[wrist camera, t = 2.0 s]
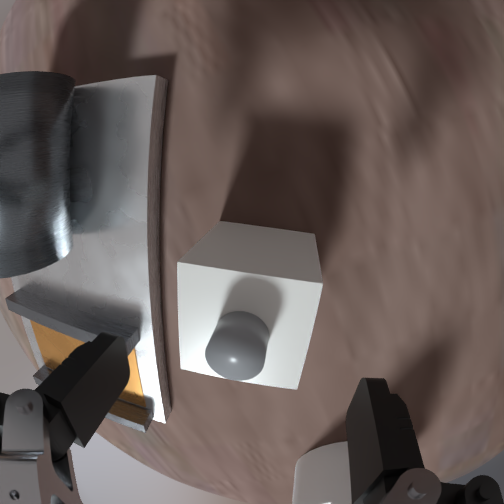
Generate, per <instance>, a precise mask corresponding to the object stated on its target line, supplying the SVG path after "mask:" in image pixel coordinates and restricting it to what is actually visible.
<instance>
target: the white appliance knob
mask: <svg viewBox="0 0 504 504" xmlns="http://www.w3.org/2000/svg"><path fill="white" fill-rule="evenodd" d="M292 504H352V501H351V482H350V467H349V454H348V443H347V441H345V442H338V443H333V444H329V445H325V446H321V447H319V448H316V449H313V450H311V451H309V452H307V453H306V454H304V455H303V456H301V458H300V459H299V460H298V461H297V463H296V466H295V477H294V488H293V499H292Z"/></svg>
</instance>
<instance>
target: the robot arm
mask: <svg viewBox="0 0 504 504" xmlns="http://www.w3.org/2000/svg"><path fill="white" fill-rule="evenodd" d="M129 378H130V366H129V361H128V356H127V350H126V344H125V340H124V338H123V337H121V336H118V335H114V334H111V333H107V332H101V333H100V334H99V335H98V336H97V337H96V338H95V339H94V340H93V341H92V342H90V341H88V342H86V343H84V344H82V345H80V346H78V347H76V348H75V349H74V350H73V351H72V352H71V353H70V354H69V355H68V358H67V357H66V358H65V359H64V361H63V362H62V363H61V365H59V366H58V367H57V368H56V369H55V370H54V371H53V372H52V373H51V374H50V375H49V376H48V377H47V378H46V379H45V380H44V381H43V382H42V383H41V384H40V385H39V386H38V387H37V388H36V389H35V390H31V389H20V390H17V391H15V392H14V393H12V394H11V395H8V394H4V393H0V504H83V503H82V501H81V499H80V496H79V493H78V489H77V484H76V479H75V473H74V468H73V462H72V455H71V450H70V446H71V445H72V443H73V442H74V443H76V444H78V445H80V446H81V447H84V448H85V446H86V445H87V443H88V442H89V440H90V439H91V437H92V436H93V434H94V433H95V431H96V430H97V428H98V427H99V425H100V424H101V422H102V421H103V419H104V418H105V416H106V415H107V413H108V412H109V410H110V409H111V408H112V406H113V405H114V403H115V402H116V400H117V399H118V397H119V396H120V394H121V393H122V391H123V390H124V389H125V387H126V386H127V384H128V381H129ZM346 432H347V443H348V454H349V467H350V482H351V501H352V504H504V503H503V499H502V495H501V492H500V488H499V485H498V483H497V482H496V481H495V480H494V479H493V478H491V477H489V476H485V475H480V476H477V477H475V478H473V479H472V480H470V481H469V482H468V483H467V484H466V485H460V484H450V483H443V482H440V480H439V479H438V477H437V476H436V475H435V474H434V473H433V472H431V471H430V470H427V469H425V468H424V465H423V461H422V457H421V453H420V450H419V446H418V442H417V439H416V435H415V432H414V429H413V425H412V422H411V419H410V416H409V412H408V409H407V406H406V404H405V403H404V402H403V400H402V399H401V398H400V397H399V396H398V394H390V392H389V388H388V385H387V382H386V380H385V379H384V378H362V379H361V380H360V382H359V385H358V387H357V389H356V392H355V394H354V396H353V399H352V401H351V403H350V406H349V408H348V411H347V415H346Z"/></svg>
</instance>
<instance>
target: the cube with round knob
mask: <svg viewBox="0 0 504 504" xmlns="http://www.w3.org/2000/svg"><path fill="white" fill-rule="evenodd" d="M177 280H178V324H179V347H180V364H181V369H185V370H189V371H193V372H198V373H202V374H207V375H211V376H216V377H221V378H226V379H230V380H236V381H242V382H248V383H254V384H260V385H267V386H274V387H281V388H289V389H297V387H298V384H299V380H300V377H301V373H302V369H303V366H304V362H305V358H306V354H307V350H308V346H309V342H310V338H311V334H312V330H313V326H314V322H315V318H316V313H317V309H318V305H319V300H320V296H321V291H322V286H323V280H322V274H321V268H320V262H319V256H318V250H317V244H316V238H315V234H313V233H306V232H299V231H292V230H285V229H277V228H270V227H263V226H255V225H248V224H240V223H232V222H224V221H219V222H218V223H217V224H216V225H215V226H214V227H213V228H212V229H211V230H210V231H209V232H208V233H207V234H205V235H204V236H203V237H202V238H201V239H200V240H199V241H198V242H197V243H196V244H195V245H194V246H193V247H192V248H191V249H190V250H189V251H188V252H187V253H186V254H185V255H184V256H183V257H182V258H181V259H180V260H179V261H178V262H177Z"/></svg>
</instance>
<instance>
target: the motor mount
mask: <svg viewBox="0 0 504 504" xmlns="http://www.w3.org/2000/svg"><path fill="white" fill-rule="evenodd" d="M167 87H168V80H167V79H164V78H162V77H160V76H158V75H149V76H139V77H130V78H123V79H115V80H109V81H103V82H97V83H91V84H86V85H81V86H76V87H75V79H73V78H72V77H70V76H67V75H64V74H59V73H53V72H40V71H28V72H14V73H6V74H0V278H8V277H11V279H12V283H13V288H14V293H13V294H11V295H10V296H8V297H7V298H5V299H6V303H7V306H8V309H9V310H11V311H13V312H15V313H17V314H19V315H21V317H22V321H23V324H24V327H25V330H26V333H27V336H28V339H29V342H30V345H31V347H32V350H33V353H34V356H35V358H36V361H37V363H38V366H39V368H40V369H39V370H38V371H37V372H36V373H35V374H34V375H33V377H34V379H35V382H36V384H38V385H40V384H41V383H42V382H43V381H44V380H45V379H46V378H47V377H48V376H49V375H50V374H51V373H52V372H53V371H54V370H55V369H56V368H57V367H58V366H59V365H61V363H62V362H63V361H64V359H65V358H66V357H67V358H68V355H69V354H70V353H71V352H72V351H73V350H74V349H75V348H76V347H78V346H80V345H82V344H84V343H86V342H88V341H90V342H92V341H93V340H94V339H95V338H96V337H97V336H98V335H99V334H100V333H101V332H107V333H111V334H114V335H118V336H121V337H123V338H124V340H125V344H126V350H127V356H128V361H129V366H130V378H129V381H128V384H127V386H126V387H125V389H124V390H123V391H122V393H121V394H120V396H119V397H118V399H117V400H116V402H115V403H114V405H113V406H112V408H111V409H110V410H109V412H108V413H107V415H106V416H105V418H108V419H110V420H112V421H115V422H117V423H120V424H123V425H125V426H128V427H131V428H133V429H136V430H139V431H142V432H145V433H146V431H147V429H148V427H149V425H150V423H151V421H152V419H153V420H156V421H160V422H163V423H166V421H167V419H168V417H169V415H170V413H171V411H172V410H171V403H170V395H169V387H168V379H167V370H166V360H165V350H164V338H163V325H162V309H161V289H160V257H159V207H160V175H161V156H162V140H163V127H164V116H165V105H166V96H167Z"/></svg>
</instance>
